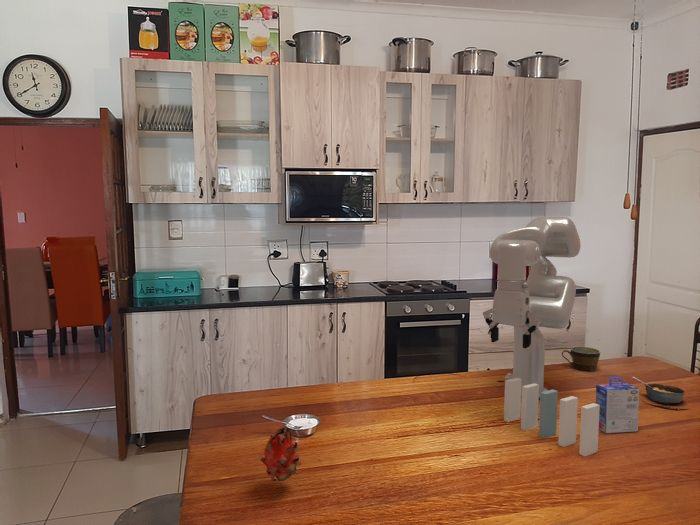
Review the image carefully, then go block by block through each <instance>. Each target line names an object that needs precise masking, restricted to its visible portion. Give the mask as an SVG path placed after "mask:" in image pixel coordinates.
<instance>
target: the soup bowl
mask: <svg viewBox="0 0 700 525" xmlns="http://www.w3.org/2000/svg"><path fill="white" fill-rule="evenodd" d="M632 378H634V379H635V380H637V381H639V382H640V383H641V384H643V385H644V387H645V392H646V395H647V397H648V399H649V400H650V401H653V402H655V403H658V404H661V405H657V404H652V403H650V404H651V405H650V406H652V407H653V406H654V407H658V408H661V409H668V410H676V409H677V410H678V411H679V410H681V409H682V410H683V409H684V408H679V409H678V408H677V407H672V408H671V407H670V406H662V405H668V404H669V405H678V404H680V403H681V401H682V400H683V398H684V396H685V390H684V389H682V388H680V387H678V386H677V387H676V386H673V385H667V384H660V383H645V382H644V381H642V380H641V379H638V378H637V377H636V376H632ZM641 402H642V403H643V404H644V403H645V404H647V405H649V403H648V402H646V401H643V400H641ZM677 410H676V411H677Z"/></svg>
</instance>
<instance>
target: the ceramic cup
mask: <svg viewBox="0 0 700 525" xmlns="http://www.w3.org/2000/svg"><path fill="white" fill-rule="evenodd" d="M564 353H568V354H569V356H570V357H571V359H572V361H570V360H569V359H568V358H566V356H564ZM561 356H562V357H563V358H564V359H565V360H566V361H567V362H568V363H569V364H570V365H571V367H573V369H575V370H577V371H578V372H584V373H593V372H596V371H597V368H598V364H599V360H600V357H601V350H599V349H597V348H593V347H587V346H574V347H571V348H570V350H567V349H564V350H563V351H562V352H561Z"/></svg>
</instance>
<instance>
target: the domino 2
mask: <svg viewBox="0 0 700 525" xmlns="http://www.w3.org/2000/svg"><path fill="white" fill-rule="evenodd" d="M538 397H539V385H538V384H535V383H533V384H529V385H525V386H522V397H521V410H520V429H521V430H523V431H529V430H531V429H534V428H537V427H539V426H538V425H539V424H538V423H539V422H538V420H539V398H538Z"/></svg>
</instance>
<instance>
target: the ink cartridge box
mask: <svg viewBox="0 0 700 525" xmlns="http://www.w3.org/2000/svg"><path fill="white" fill-rule="evenodd" d="M614 379H615V380H619V381H613V380H614ZM608 381H609V383H603V384H596V385H595V404H598V405H600V409H599V430H600V431H601V432H603V433H604V434H615V433H616V434H617V433H629V432H638V430H639V402H640V388H639V387H637V386H635V385H633V384H632V383H631V384H630V383H628V382H623V380H622V378H621V376H620V375H613V376H612V375H610V376H608Z"/></svg>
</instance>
